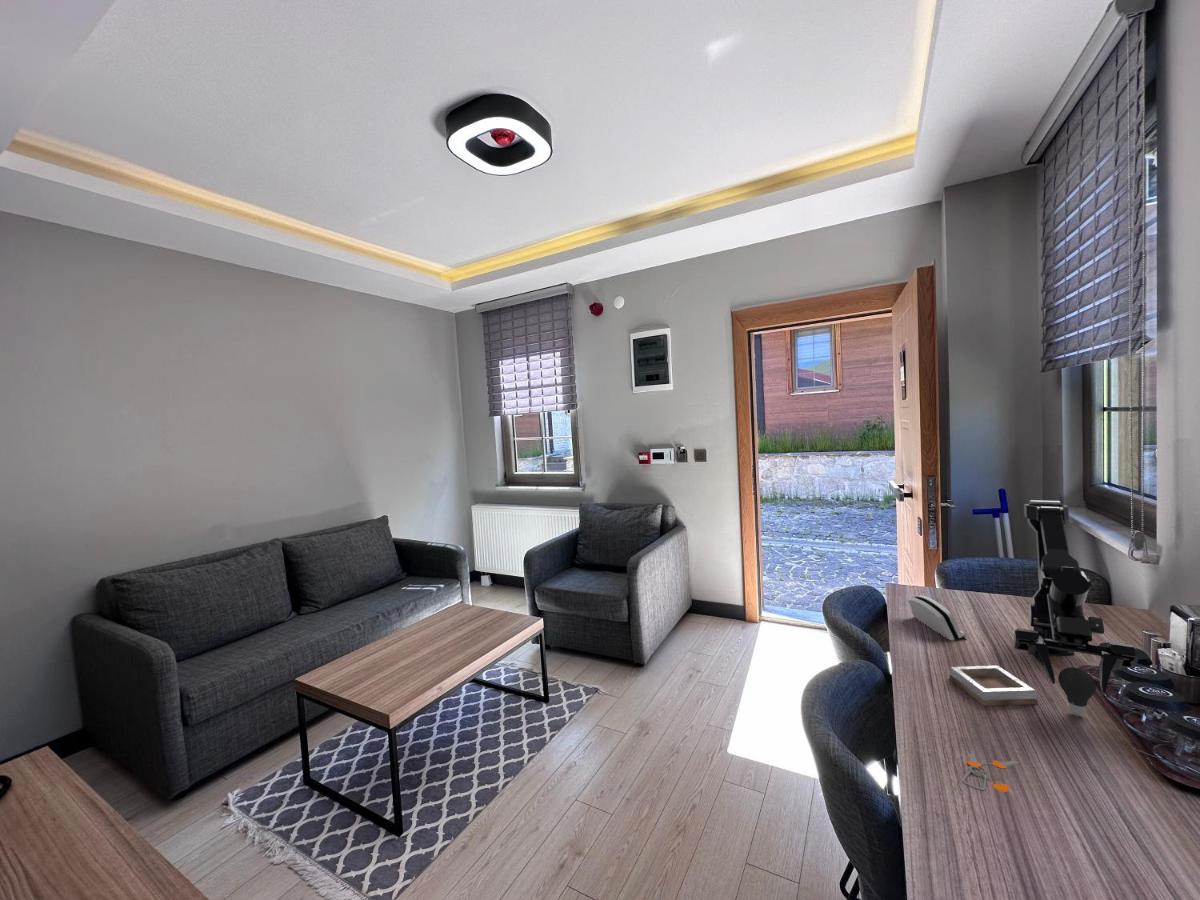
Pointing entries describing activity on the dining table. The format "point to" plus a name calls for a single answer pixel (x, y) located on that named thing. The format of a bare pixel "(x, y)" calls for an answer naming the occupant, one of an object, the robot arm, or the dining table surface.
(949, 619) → the white arched casing
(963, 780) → the key chain
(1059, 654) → the robot arm
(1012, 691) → the socket collar
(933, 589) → the dining table surface
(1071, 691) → the light bulb
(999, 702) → the socket board
